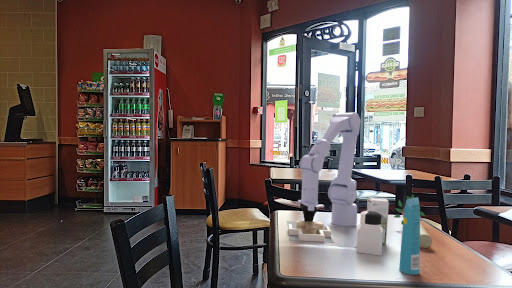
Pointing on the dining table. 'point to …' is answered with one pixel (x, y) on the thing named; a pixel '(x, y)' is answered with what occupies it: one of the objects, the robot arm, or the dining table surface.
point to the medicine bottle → (370, 233)
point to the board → (296, 238)
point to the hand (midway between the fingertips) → (308, 226)
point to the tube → (410, 238)
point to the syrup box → (382, 208)
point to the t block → (309, 227)
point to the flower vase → (424, 236)
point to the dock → (310, 236)
